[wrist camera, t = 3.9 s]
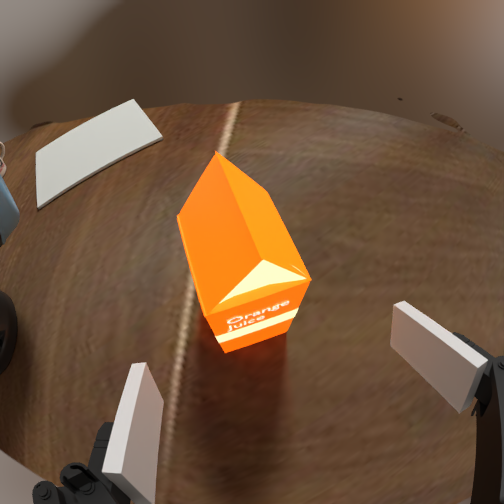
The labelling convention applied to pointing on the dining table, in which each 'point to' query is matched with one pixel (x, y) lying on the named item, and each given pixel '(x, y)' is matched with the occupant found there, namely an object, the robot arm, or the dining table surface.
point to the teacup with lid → (0, 166)
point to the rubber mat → (91, 149)
